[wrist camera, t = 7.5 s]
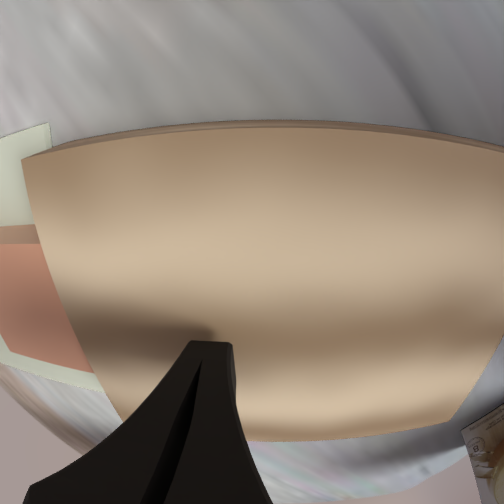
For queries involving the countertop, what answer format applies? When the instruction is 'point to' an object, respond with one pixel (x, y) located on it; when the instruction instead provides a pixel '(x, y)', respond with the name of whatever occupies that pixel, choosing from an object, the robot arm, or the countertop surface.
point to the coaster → (34, 303)
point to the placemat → (19, 213)
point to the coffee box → (487, 455)
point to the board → (282, 265)
